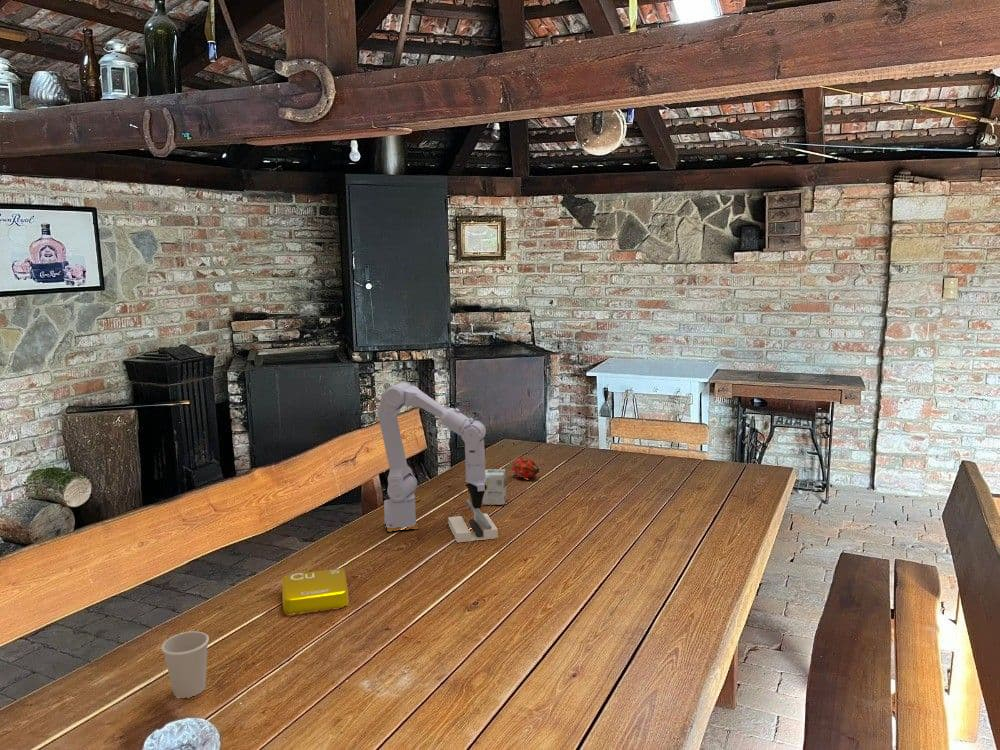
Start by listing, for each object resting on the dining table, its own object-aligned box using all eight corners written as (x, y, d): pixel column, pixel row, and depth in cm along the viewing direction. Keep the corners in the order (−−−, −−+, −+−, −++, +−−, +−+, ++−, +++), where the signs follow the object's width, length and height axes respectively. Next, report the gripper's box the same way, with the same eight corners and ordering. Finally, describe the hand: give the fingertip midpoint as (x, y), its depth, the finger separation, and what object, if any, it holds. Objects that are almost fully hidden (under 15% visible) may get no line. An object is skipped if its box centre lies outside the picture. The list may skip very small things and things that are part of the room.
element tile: (283, 618, 173) (282, 599, 172) (283, 591, 187) (282, 572, 186) (349, 609, 177) (348, 590, 176) (345, 583, 191) (344, 565, 190)
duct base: (457, 543, 214) (456, 533, 214) (448, 526, 228) (448, 517, 227) (497, 539, 217) (497, 529, 217) (487, 522, 231) (486, 513, 230)
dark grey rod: (477, 529, 217) (483, 531, 218) (470, 518, 227) (476, 520, 227) (475, 536, 217) (481, 537, 218) (467, 524, 227) (473, 526, 227)
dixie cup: (219, 677, 148) (215, 630, 147) (204, 702, 140) (199, 652, 138) (176, 678, 148) (171, 631, 146) (158, 703, 140) (153, 654, 138)
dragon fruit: (515, 477, 281) (536, 489, 273) (502, 469, 276) (523, 480, 267) (526, 458, 283) (548, 469, 274) (513, 449, 277) (535, 460, 268)
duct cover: (475, 514, 215) (477, 512, 215) (466, 500, 227) (468, 498, 227) (489, 529, 217) (492, 527, 217) (480, 514, 229) (482, 512, 229)
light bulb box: (506, 499, 252) (506, 468, 250) (504, 506, 245) (504, 474, 244) (474, 499, 253) (474, 468, 251) (472, 506, 246) (471, 474, 245)
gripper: (494, 468, 213) (496, 514, 216) (483, 455, 227) (484, 498, 230) (470, 470, 212) (472, 516, 214) (460, 457, 226) (462, 501, 228)
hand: (477, 507), depth 222 cm, fingers closed, pressing on duct cover
